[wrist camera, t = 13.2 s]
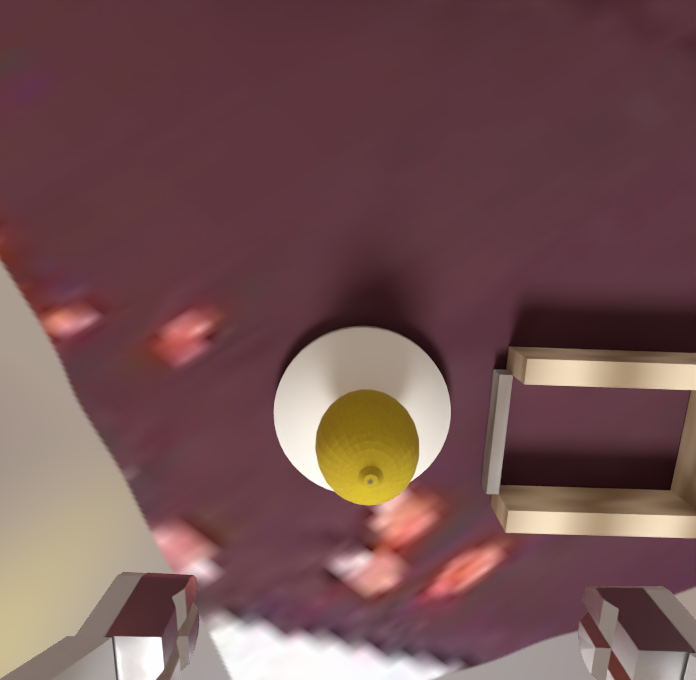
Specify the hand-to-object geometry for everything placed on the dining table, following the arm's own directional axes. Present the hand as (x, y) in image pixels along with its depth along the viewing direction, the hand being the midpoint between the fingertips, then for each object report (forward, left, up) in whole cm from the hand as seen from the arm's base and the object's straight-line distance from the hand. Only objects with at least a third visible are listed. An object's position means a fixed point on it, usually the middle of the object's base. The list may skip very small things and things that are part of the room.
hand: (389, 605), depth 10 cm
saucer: (0, +3, -20) cm, 20 cm away
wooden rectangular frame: (-15, +4, -20) cm, 25 cm away
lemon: (0, +3, -19) cm, 19 cm away
